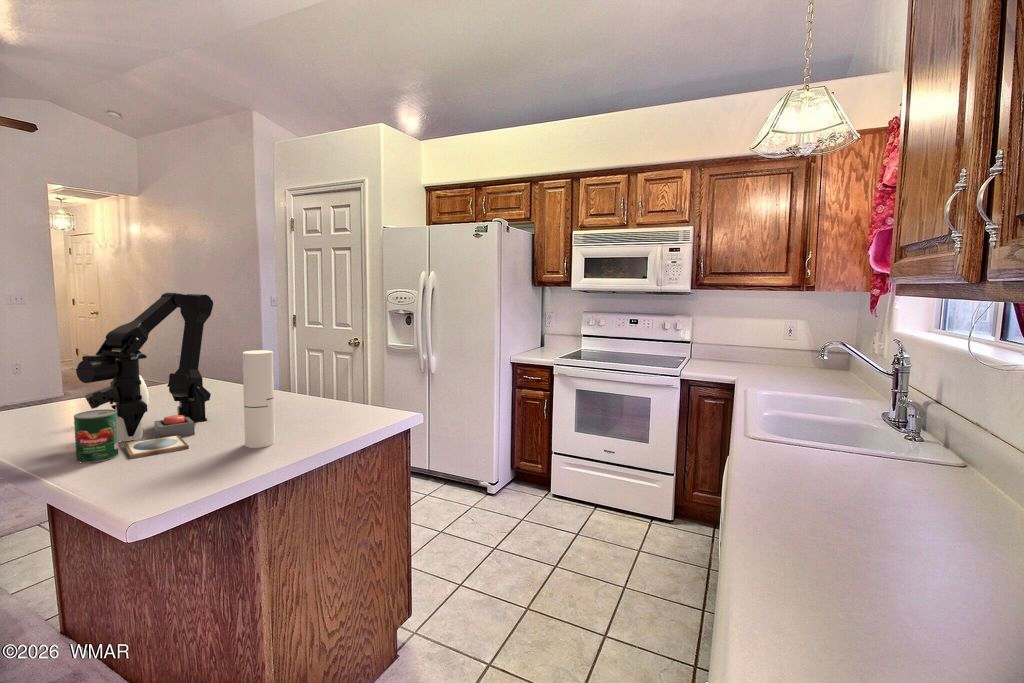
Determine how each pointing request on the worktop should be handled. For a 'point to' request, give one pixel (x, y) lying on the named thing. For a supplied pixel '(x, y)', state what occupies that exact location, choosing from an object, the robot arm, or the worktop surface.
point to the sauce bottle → (144, 391)
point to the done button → (174, 420)
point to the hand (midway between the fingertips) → (129, 433)
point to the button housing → (174, 428)
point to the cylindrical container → (258, 398)
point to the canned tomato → (96, 435)
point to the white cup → (123, 432)
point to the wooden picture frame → (155, 446)
